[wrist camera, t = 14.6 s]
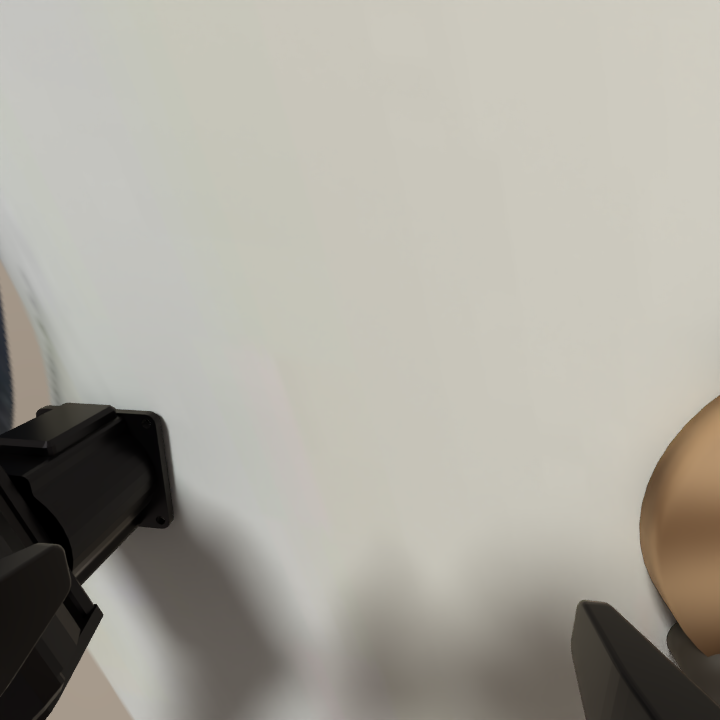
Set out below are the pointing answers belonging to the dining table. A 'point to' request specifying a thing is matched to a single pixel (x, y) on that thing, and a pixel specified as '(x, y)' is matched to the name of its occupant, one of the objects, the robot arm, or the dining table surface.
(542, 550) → the dining table surface
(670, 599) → the base plate
